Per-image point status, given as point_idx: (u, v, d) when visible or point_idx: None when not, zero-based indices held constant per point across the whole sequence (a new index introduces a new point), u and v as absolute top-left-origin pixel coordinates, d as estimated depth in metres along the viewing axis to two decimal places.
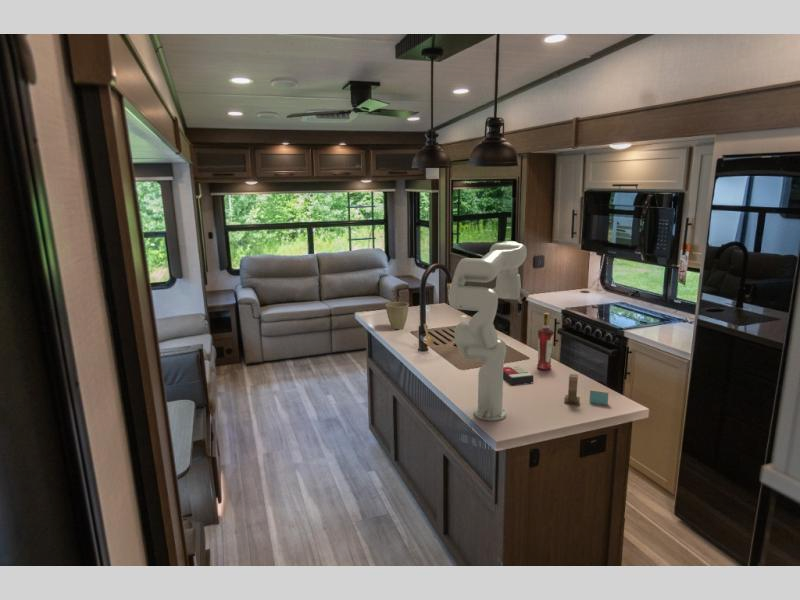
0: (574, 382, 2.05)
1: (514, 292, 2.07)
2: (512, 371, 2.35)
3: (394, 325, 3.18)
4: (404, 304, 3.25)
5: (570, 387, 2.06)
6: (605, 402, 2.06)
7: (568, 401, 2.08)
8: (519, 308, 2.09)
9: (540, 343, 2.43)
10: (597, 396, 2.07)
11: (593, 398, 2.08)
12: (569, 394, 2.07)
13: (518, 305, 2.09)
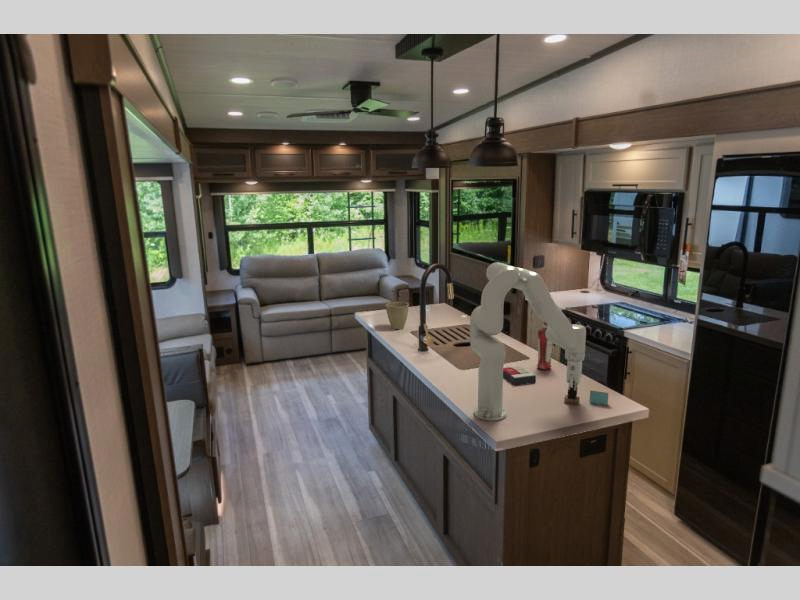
0: (574, 382, 2.05)
1: (581, 372, 2.08)
2: (514, 371, 2.35)
3: (394, 325, 3.18)
4: (404, 304, 3.25)
5: None
6: (605, 402, 2.06)
7: (568, 401, 2.08)
8: None
9: (540, 343, 2.43)
10: (597, 396, 2.07)
11: (593, 398, 2.08)
12: None
13: None
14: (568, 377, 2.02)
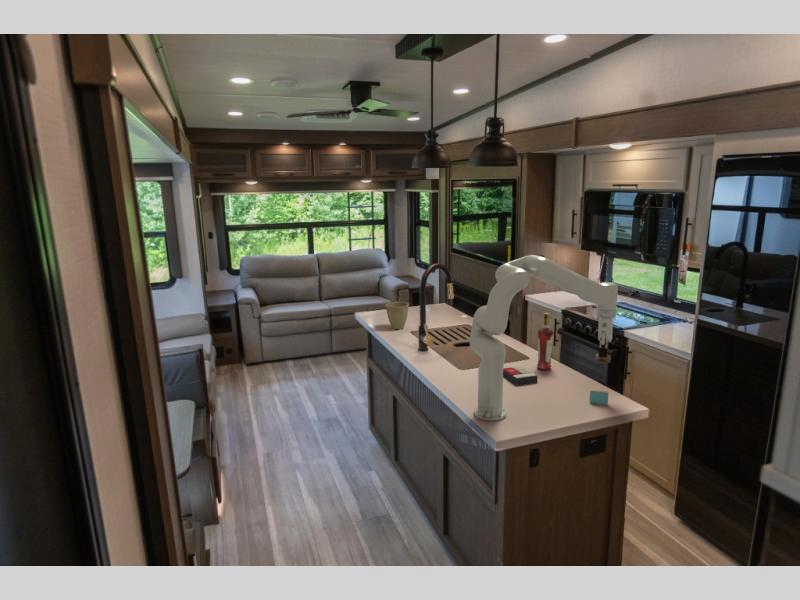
0: None
1: None
2: (516, 371, 2.35)
3: (394, 325, 3.18)
4: (404, 304, 3.25)
5: None
6: (605, 402, 2.06)
7: (599, 359, 2.09)
8: None
9: (540, 343, 2.43)
10: (597, 396, 2.07)
11: (593, 398, 2.08)
12: None
13: None
14: (600, 334, 2.04)
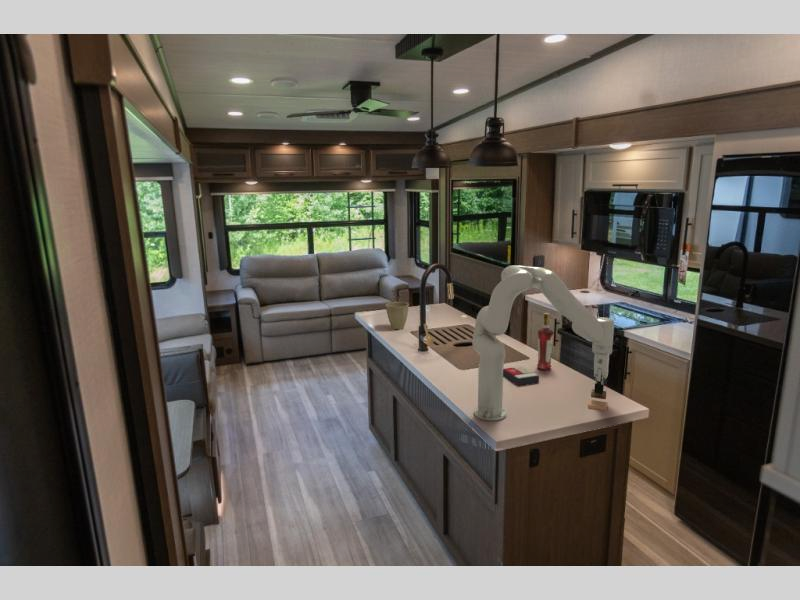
0: (601, 376, 2.02)
1: None
2: (517, 372, 2.35)
3: (394, 325, 3.18)
4: (404, 304, 3.25)
5: None
6: None
7: (595, 395, 2.05)
8: None
9: (540, 343, 2.43)
10: None
11: None
12: None
13: None
14: (596, 371, 1.99)
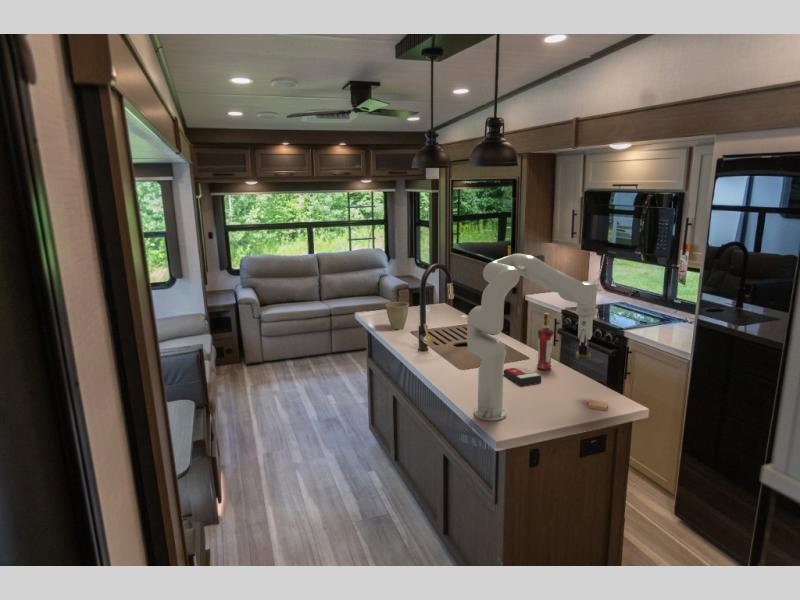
0: None
1: None
2: (519, 372, 2.34)
3: (394, 325, 3.18)
4: (404, 304, 3.25)
5: None
6: None
7: (579, 357, 2.14)
8: None
9: (540, 343, 2.43)
10: None
11: None
12: None
13: None
14: (579, 332, 2.08)
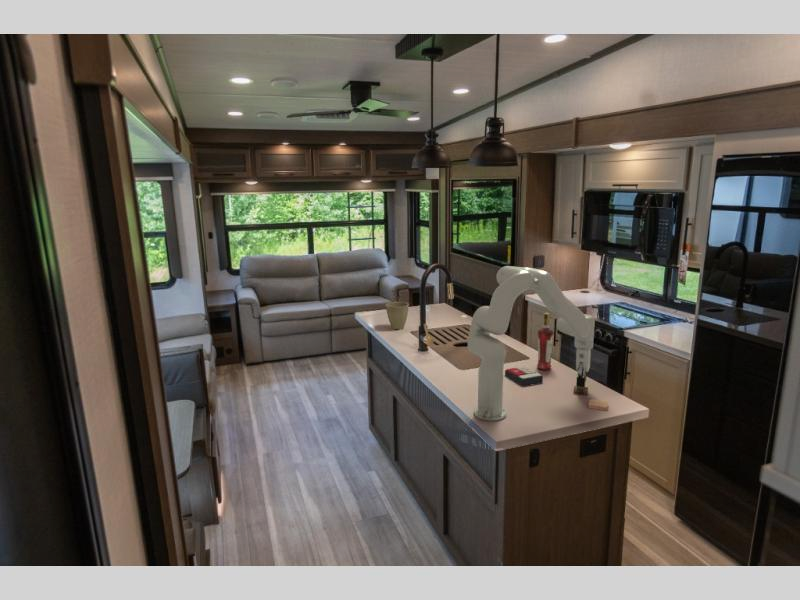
0: None
1: None
2: (520, 372, 2.34)
3: (394, 325, 3.18)
4: (404, 304, 3.25)
5: None
6: None
7: (577, 391, 2.17)
8: None
9: (540, 343, 2.43)
10: None
11: None
12: None
13: (586, 374, 2.19)
14: (577, 365, 2.12)
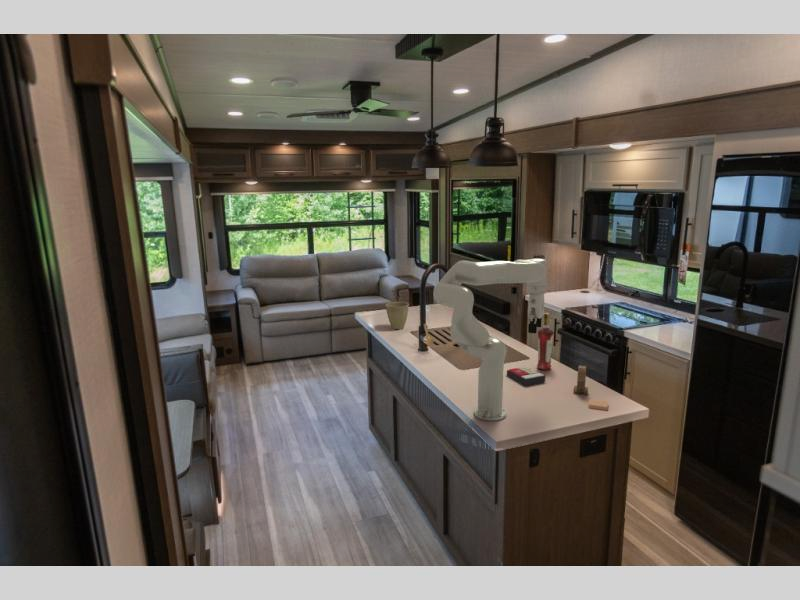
0: (583, 373, 2.15)
1: (543, 307, 2.07)
2: (523, 372, 2.34)
3: (394, 325, 3.18)
4: (404, 304, 3.25)
5: (579, 378, 2.16)
6: None
7: (577, 391, 2.17)
8: None
9: (540, 343, 2.43)
10: None
11: None
12: (578, 384, 2.17)
13: None
14: (529, 311, 2.02)
